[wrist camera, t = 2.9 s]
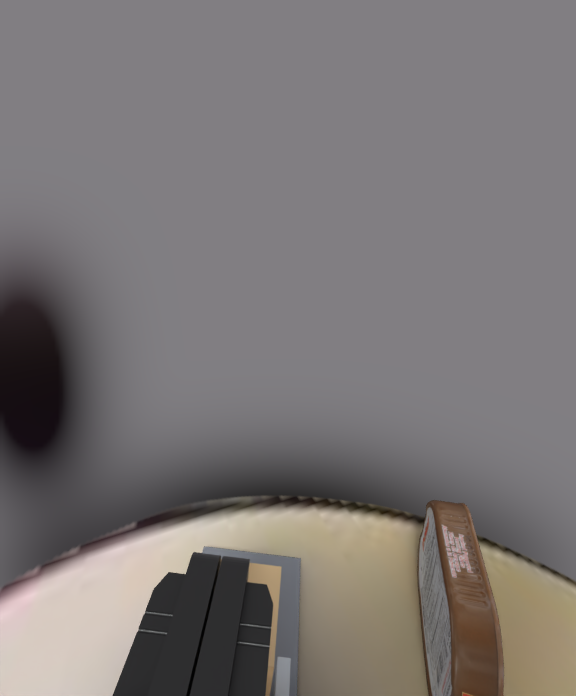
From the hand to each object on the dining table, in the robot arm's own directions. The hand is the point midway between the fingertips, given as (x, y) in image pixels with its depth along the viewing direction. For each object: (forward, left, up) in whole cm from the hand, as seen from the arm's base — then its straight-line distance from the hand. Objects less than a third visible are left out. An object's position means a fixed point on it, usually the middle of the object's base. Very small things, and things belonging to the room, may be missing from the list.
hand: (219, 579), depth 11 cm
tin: (-14, -14, -20) cm, 28 cm away
